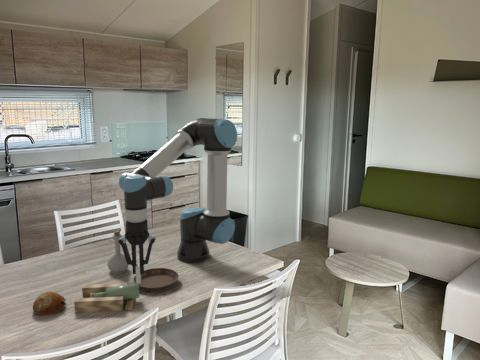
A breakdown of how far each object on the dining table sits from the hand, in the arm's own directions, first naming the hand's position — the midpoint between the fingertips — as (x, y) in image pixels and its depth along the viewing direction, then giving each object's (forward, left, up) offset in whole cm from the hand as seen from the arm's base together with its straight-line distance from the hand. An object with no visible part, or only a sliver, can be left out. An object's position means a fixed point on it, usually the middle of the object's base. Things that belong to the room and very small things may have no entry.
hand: (138, 281), depth 148 cm
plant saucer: (-5, -14, -8) cm, 17 cm away
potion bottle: (+12, -28, -8) cm, 31 cm away
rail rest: (+12, 0, -7) cm, 14 cm away
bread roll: (+30, +3, -8) cm, 31 cm away
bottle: (0, 0, -3) cm, 3 cm away
